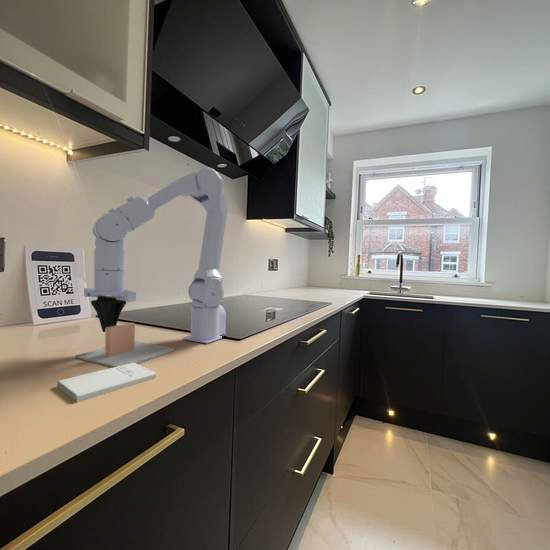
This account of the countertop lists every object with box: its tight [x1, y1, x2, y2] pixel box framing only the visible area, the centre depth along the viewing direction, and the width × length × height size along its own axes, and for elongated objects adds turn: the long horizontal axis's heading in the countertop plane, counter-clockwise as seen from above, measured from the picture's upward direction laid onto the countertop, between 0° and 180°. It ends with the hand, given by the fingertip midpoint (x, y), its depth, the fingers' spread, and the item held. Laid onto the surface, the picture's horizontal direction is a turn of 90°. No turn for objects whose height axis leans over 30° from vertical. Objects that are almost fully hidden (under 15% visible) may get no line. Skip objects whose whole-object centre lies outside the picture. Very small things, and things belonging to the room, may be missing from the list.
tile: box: [104, 322, 136, 357], centre depth 65 cm, size 6×2×6 cm, turn 155°
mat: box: [74, 340, 176, 368], centre depth 65 cm, size 14×14×1 cm
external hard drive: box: [56, 363, 157, 403], centre depth 50 cm, size 2×8×12 cm
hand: (108, 331), depth 66 cm, fingers closed
